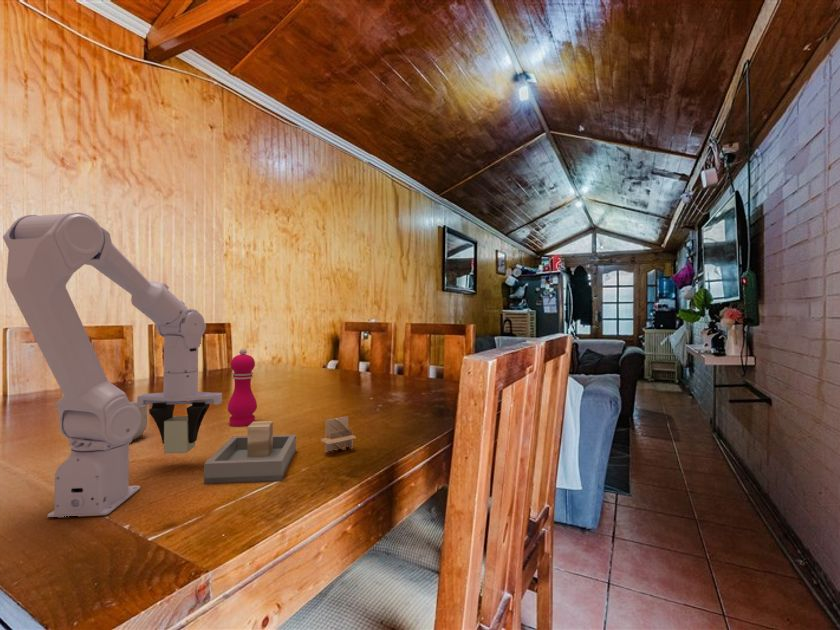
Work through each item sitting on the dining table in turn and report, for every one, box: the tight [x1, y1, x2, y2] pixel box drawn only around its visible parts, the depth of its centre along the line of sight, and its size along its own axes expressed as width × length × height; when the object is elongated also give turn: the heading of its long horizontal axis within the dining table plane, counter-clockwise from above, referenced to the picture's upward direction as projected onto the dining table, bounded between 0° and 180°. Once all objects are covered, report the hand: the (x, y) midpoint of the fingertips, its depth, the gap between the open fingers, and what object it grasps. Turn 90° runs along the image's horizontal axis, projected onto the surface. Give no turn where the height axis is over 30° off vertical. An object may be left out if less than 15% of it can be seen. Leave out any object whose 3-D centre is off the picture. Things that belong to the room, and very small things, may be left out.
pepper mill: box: [227, 348, 258, 427], centre depth 111 cm, size 7×7×20 cm
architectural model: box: [320, 415, 357, 453], centre depth 89 cm, size 3×7×7 cm, turn 132°
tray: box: [203, 434, 297, 485], centre depth 81 cm, size 16×13×4 cm
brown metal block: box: [247, 420, 274, 457], centre depth 85 cm, size 4×4×6 cm
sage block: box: [163, 415, 196, 455], centre depth 80 cm, size 4×4×6 cm
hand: (180, 442), depth 80 cm, fingers closed on sage block, 4 cm apart
